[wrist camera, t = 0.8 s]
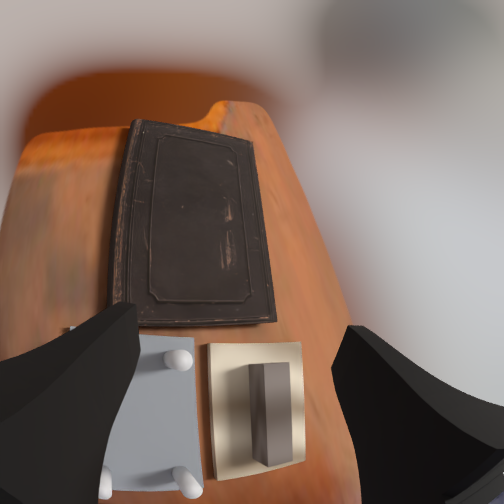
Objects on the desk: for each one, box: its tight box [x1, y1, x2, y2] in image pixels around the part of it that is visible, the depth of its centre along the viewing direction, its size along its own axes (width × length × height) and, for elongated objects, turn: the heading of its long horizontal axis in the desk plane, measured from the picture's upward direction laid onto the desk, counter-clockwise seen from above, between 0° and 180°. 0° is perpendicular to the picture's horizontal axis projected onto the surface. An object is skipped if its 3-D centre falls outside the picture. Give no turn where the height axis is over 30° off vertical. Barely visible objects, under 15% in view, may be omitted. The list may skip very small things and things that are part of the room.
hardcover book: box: [107, 119, 277, 326], centre depth 28 cm, size 16×23×2 cm
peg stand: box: [70, 326, 204, 499], centre depth 16 cm, size 15×11×5 cm
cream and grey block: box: [207, 342, 305, 481], centre depth 22 cm, size 14×10×4 cm
